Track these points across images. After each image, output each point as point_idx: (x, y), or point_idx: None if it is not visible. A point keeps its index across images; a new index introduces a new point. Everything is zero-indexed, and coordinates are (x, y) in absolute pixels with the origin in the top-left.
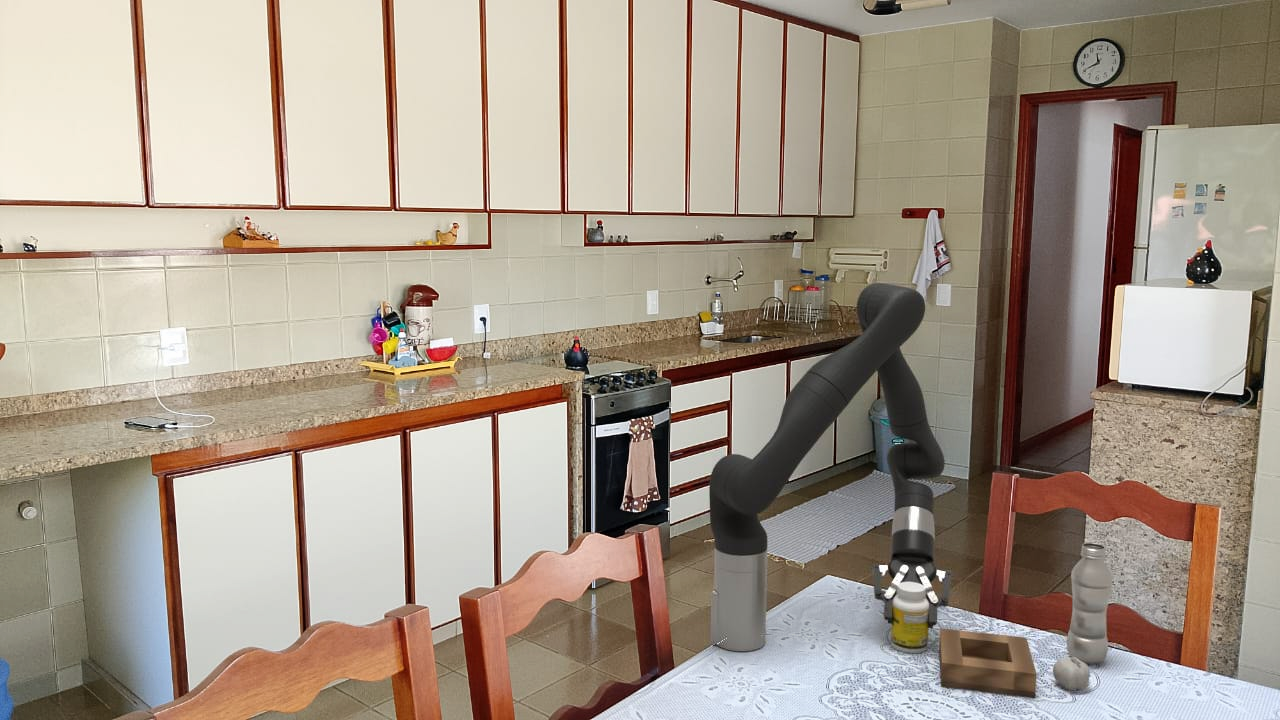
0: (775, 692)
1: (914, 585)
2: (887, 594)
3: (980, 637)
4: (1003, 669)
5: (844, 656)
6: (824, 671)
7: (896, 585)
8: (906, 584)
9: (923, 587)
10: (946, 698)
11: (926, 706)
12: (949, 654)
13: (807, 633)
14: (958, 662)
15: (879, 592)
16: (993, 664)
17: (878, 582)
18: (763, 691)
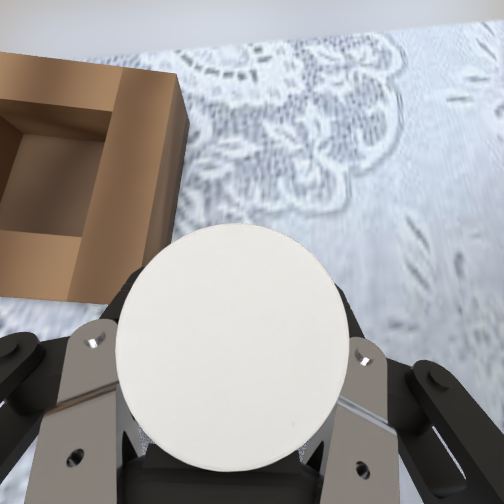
0: (476, 69)
1: (206, 369)
2: (372, 354)
3: (7, 251)
4: (19, 57)
5: (384, 225)
6: (413, 152)
7: (347, 411)
8: (276, 381)
9: (131, 334)
10: (187, 82)
11: (228, 53)
12: (146, 120)
13: (487, 341)
14: (132, 80)
15: (422, 367)
16: (37, 79)
17: (488, 455)
18: (495, 70)
